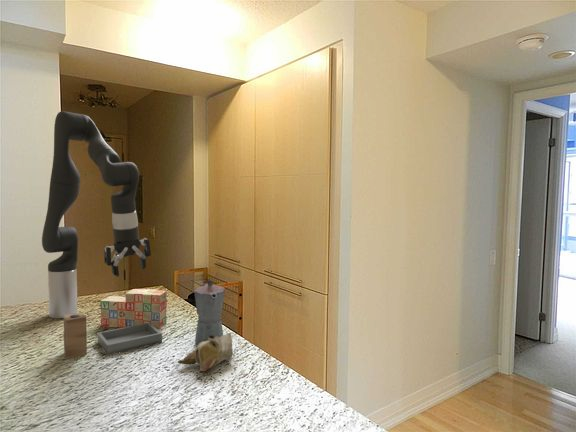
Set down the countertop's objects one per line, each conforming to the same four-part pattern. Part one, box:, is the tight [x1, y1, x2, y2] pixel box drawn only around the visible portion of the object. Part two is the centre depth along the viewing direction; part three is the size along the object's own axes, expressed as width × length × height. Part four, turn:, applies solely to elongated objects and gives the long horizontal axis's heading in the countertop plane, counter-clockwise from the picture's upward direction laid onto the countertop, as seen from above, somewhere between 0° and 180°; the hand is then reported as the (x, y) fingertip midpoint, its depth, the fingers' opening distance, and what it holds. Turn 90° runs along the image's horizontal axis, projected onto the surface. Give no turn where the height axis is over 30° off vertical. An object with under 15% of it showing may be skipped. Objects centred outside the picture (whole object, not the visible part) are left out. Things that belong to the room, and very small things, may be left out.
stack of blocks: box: [100, 288, 168, 330], centre depth 137 cm, size 21×6×12 cm, turn 85°
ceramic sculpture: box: [177, 332, 234, 374], centre depth 107 cm, size 11×9×15 cm
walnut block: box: [62, 312, 88, 359], centre depth 113 cm, size 5×5×11 cm
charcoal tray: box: [96, 323, 163, 356], centre depth 122 cm, size 12×16×3 cm
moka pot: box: [194, 280, 226, 346], centre depth 123 cm, size 10×15×20 cm, turn 27°
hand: (129, 272), depth 128 cm, fingers open, 8 cm apart
